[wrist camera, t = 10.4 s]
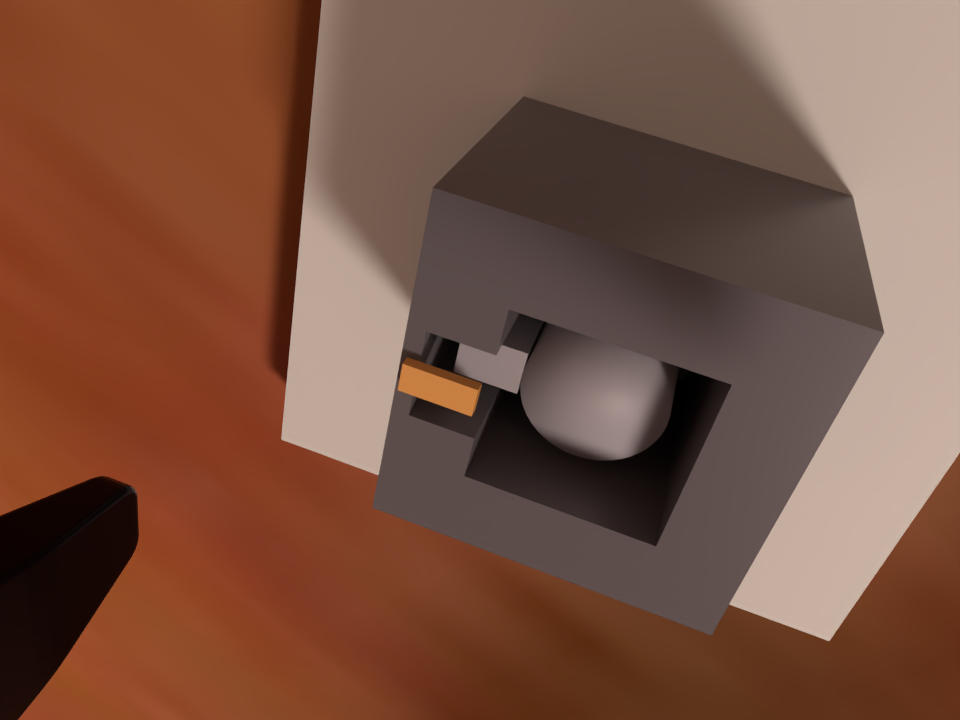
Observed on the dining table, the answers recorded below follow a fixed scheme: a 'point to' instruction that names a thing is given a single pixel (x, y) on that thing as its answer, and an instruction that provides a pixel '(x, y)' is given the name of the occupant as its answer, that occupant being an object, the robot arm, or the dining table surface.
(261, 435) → the dining table surface
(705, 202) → the grey box housing
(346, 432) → the base plate
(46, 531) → the robot arm
